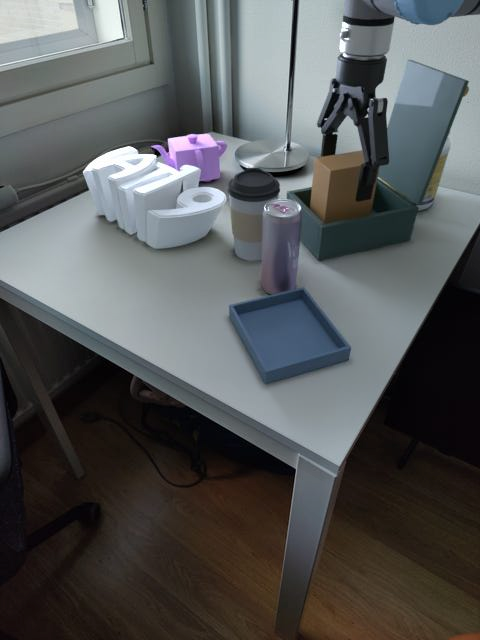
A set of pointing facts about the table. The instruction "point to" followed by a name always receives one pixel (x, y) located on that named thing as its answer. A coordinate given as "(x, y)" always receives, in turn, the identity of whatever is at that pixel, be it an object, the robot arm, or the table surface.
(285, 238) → the beverage can
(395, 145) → the lid
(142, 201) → the white letter sculpture
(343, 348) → the tray
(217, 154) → the teapot
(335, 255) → the box
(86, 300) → the table surface
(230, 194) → the coffee cup
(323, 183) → the packet
